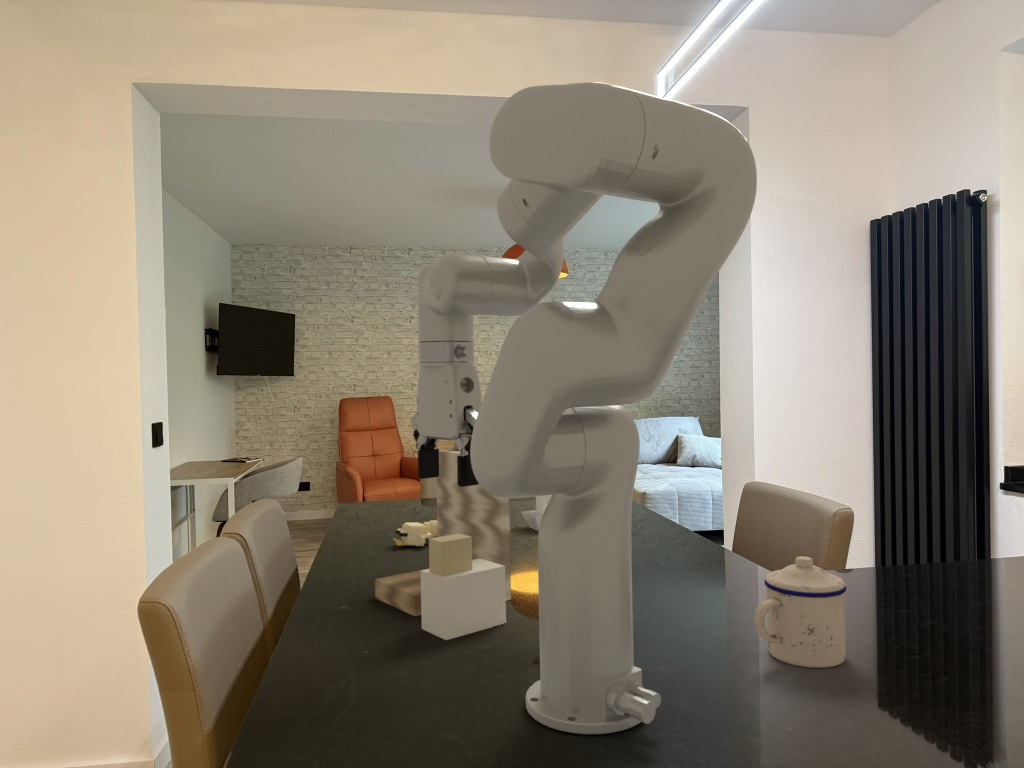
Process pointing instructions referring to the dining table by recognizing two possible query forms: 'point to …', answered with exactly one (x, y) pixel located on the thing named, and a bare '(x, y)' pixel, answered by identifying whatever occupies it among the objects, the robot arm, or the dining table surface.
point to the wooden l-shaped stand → (457, 515)
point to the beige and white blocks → (460, 589)
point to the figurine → (536, 512)
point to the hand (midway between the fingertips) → (447, 481)
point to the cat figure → (417, 533)
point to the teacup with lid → (804, 615)
